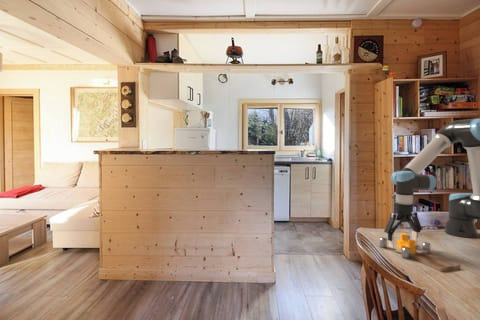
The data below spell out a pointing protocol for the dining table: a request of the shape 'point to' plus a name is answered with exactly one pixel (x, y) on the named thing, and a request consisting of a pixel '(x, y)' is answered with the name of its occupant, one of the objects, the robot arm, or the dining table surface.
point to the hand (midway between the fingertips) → (402, 245)
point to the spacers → (405, 249)
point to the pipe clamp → (406, 243)
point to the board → (433, 262)
